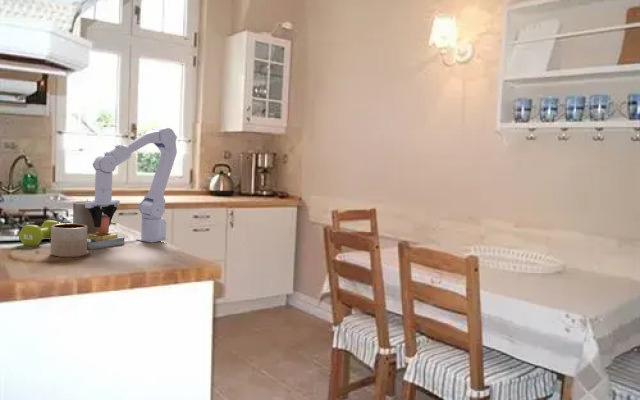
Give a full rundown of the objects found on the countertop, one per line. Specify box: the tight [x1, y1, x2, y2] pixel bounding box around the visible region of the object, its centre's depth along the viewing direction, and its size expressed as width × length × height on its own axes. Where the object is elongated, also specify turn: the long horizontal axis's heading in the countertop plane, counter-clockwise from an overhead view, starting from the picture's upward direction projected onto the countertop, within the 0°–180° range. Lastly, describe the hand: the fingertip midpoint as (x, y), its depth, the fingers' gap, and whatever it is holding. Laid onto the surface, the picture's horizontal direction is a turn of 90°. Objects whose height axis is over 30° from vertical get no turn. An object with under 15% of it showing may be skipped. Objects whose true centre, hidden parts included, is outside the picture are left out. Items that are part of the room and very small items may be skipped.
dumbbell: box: [18, 219, 60, 247], centre depth 196 cm, size 16×8×7 cm, turn 176°
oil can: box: [97, 213, 110, 233], centre depth 200 cm, size 4×4×6 cm
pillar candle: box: [72, 199, 98, 234], centre depth 210 cm, size 10×10×15 cm
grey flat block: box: [87, 232, 125, 251], centre depth 197 cm, size 18×11×4 cm, turn 156°
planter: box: [50, 222, 88, 258], centre depth 179 cm, size 11×11×10 cm
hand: (102, 226), depth 200 cm, fingers closed on oil can, 4 cm apart
